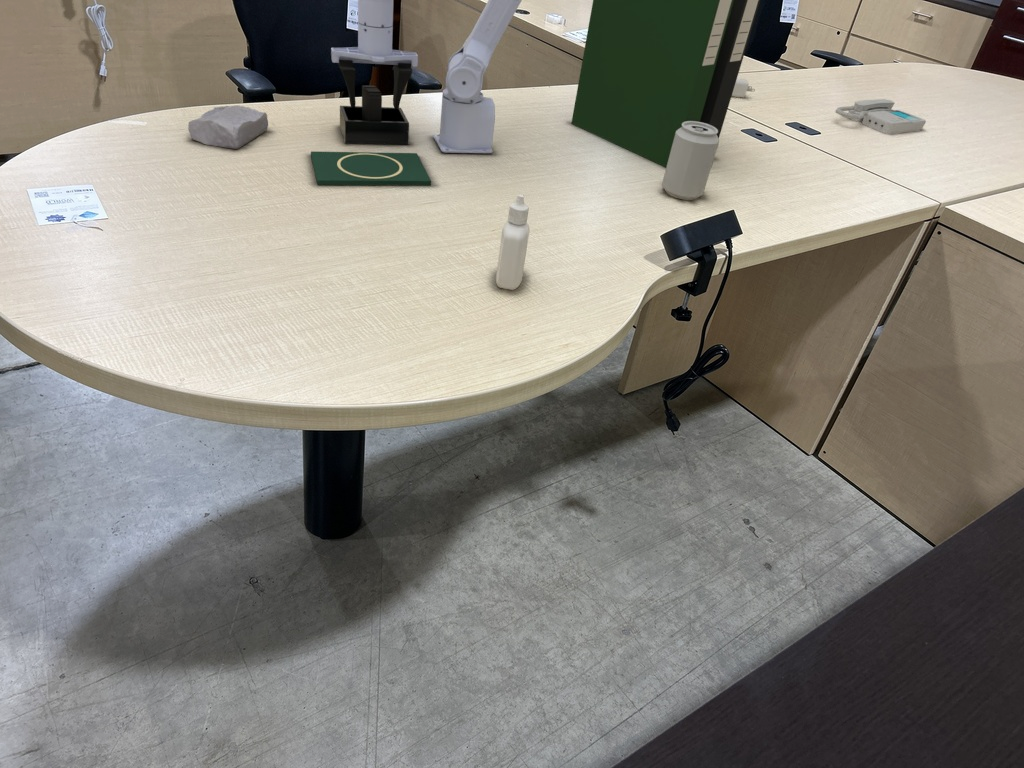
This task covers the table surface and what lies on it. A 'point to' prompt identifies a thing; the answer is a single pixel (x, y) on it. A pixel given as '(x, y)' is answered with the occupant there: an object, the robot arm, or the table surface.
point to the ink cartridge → (371, 103)
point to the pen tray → (374, 127)
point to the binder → (659, 69)
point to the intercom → (882, 116)
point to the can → (690, 160)
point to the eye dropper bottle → (513, 246)
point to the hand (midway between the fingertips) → (374, 106)
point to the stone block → (228, 126)
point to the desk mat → (368, 168)
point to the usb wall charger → (741, 88)
